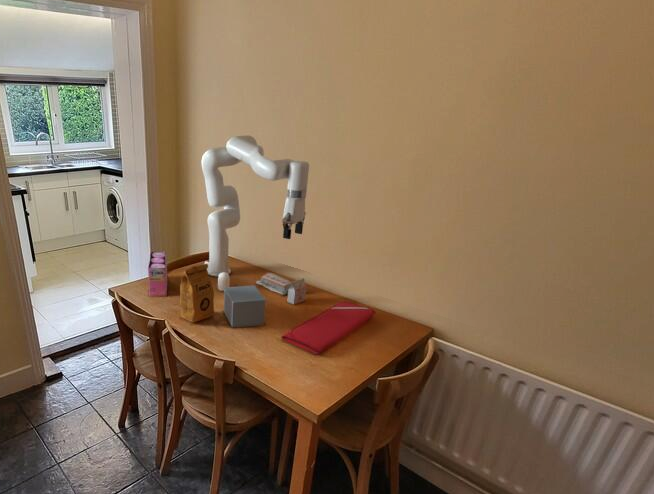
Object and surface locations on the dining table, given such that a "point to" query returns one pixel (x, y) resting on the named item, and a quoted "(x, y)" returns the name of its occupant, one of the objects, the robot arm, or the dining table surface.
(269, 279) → the packaged product
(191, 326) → the dining table surface
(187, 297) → the coffee package
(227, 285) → the capsule
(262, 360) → the dining table surface
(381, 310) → the dining table surface
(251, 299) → the blue-grey box
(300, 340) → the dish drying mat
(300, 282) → the small milk carton
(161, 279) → the gum box
